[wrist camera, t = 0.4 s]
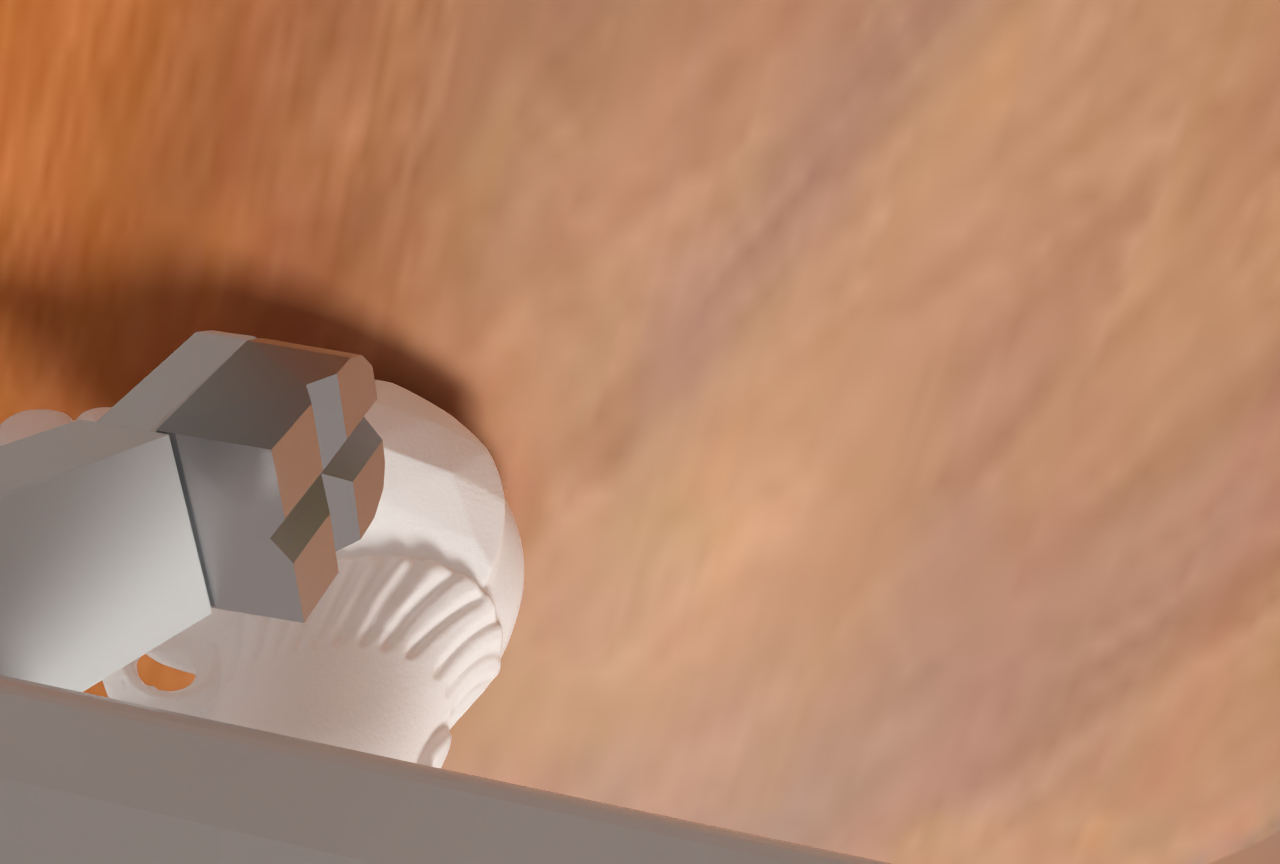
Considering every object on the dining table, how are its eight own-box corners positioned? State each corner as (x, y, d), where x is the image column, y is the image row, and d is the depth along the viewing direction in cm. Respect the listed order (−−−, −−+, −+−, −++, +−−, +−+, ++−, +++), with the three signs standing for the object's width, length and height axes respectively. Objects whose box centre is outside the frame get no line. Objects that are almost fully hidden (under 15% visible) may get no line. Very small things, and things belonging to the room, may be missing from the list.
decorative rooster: (610, 484, 59) (494, 934, 39) (439, 646, 67) (268, 1091, 47) (169, 163, 52) (-253, 502, 32) (37, 385, 60) (-368, 771, 40)
